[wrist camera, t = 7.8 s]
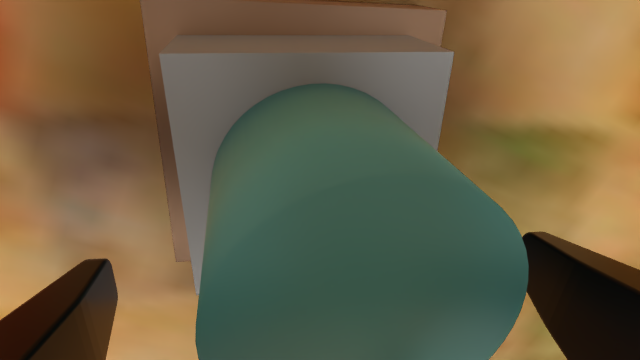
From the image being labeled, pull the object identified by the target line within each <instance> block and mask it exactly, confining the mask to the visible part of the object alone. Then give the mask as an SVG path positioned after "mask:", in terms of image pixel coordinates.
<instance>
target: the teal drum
mask: <svg viewBox="0 0 640 360" xmlns="http://www.w3.org/2000/svg"><path fill="white" fill-rule="evenodd" d="M528 268H529V265H528V258H527V252H526V248H525V245H524V242H523V239H522V236H521V234H520V232H519V230H518V229H517V227H516V225H515V224H514V222H513V220H512V219H511V218H510V217H509V216H508V215H507V213H506V212H505V211H504V210H503V209H502V208H501V207H500V206H499V205H498V204H497V203H496V202H494V201H493V200H492V199H491V198H490V197H489V196H488V195H486V194H485V193H484V192H483V191H482V190H481V189H480V188H478V187H477V186H476V185H475V184H474V183H473V182H472V181H471V180H469V179H468V178H467V177H466V176H465V175H464V174H463V173H461V172H460V171H459V170H458V169H457V168H456V167H455V166H453V165H452V164H451V163H450V162H449V161H448V160H447V159H445V158H444V157H443V156H442V155H441V154H440V153H439V152H438V151H436V150H435V149H434V148H433V147H432V146H431V145H430V144H428V143H427V142H426V141H425V140H424V139H423V138H422V137H420V136H419V135H418V134H417V133H416V132H415V131H414V130H412V129H411V128H410V127H409V126H408V125H407V124H406V123H405V122H403V121H402V120H401V119H400V118H399V117H398V116H397V115H395V114H394V113H393V112H392V111H391V110H390V109H389V108H387V107H386V106H385V105H384V104H382V103H381V102H380V101H379V100H377V99H375V98H374V97H372V96H370V95H369V94H367V93H364V92H362V91H359V90H357V89H354V88H351V87H347V86H343V85H336V84H326V83H324V84H307V85H301V86H296V87H292V88H289V89H286V90H282V91H280V92H278V93H275V94H273V95H271V96H269V97H267V98H265V99H263V100H262V101H260V102H259V103H257V104H255V105H254V106H253V107H252V108H250V109H249V110H248V111H247V112H245V113H244V114H243V115H242V116H241V117H240V118H239V119H238V120H237V121H236V123H235V124H234V125H233V126H232V127H231V129H230V130H229V132H228V133H227V134H226V136H225V137H224V139H223V141H222V143H221V145H220V147H219V149H218V152H217V155H216V158H215V161H214V166H213V171H212V178H211V187H210V197H209V206H208V216H207V225H206V234H205V244H204V253H203V262H202V272H201V281H200V291H199V300H198V309H197V319H196V347H197V353H198V358H199V360H489V358H490V357H491V356H492V355H493V354H494V353H495V352H496V350H497V349H498V348H499V347H500V345H501V344H502V343H503V342H504V340H505V339H506V337H507V335H508V334H509V332H510V331H511V329H512V328H513V326H514V324H515V322H516V319H517V317H518V315H519V313H520V311H521V308H522V305H523V302H524V299H525V295H526V290H527V285H528Z"/></svg>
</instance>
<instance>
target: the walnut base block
mask: <svg viewBox="0 0 640 360" xmlns="http://www.w3.org/2000/svg"><path fill="white" fill-rule="evenodd" d="M140 4H141V11H142V18H143V26H144V33H145V40H146V47H147V55H148V62H149V69H150V76H151V84H152V91H153V98H154V106H155V113H156V120H157V127H158V135H159V142H160V149H161V156H162V164H163V171H164V178H165V185H166V193H167V200H168V207H169V214H170V222H171V229H172V236H173V244H174V251H175V258H176V262H182V261H191V257H190V251H189V244H188V238H187V231H186V225H185V218H184V212H183V205H182V199H181V193H180V186H179V180H178V173H177V167H176V160H175V154H174V147H173V141H172V134H171V128H170V121H169V115H168V109H167V102H166V96H165V89H164V83H163V76H162V70H161V63H160V57H159V53H160V52H161V51H162V50H163V49H164V48H165V47H166V46H167V45H168V44H169V43H170V42H171V41H172V40H173V39H174V38H175V37H176V36H177V35H409V36H412V37H415V38H418V39H420V40H423V41H426V42H429V43H431V44H434V45H437V46H440V47H441V41H442V36H443V30H444V25H445V19H446V14H447V10H441V9H435V8H430V7H424V6H418V5H401V4H381V3H361V2H340V1H320V0H140Z"/></svg>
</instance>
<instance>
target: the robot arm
mask: <svg viewBox="0 0 640 360" xmlns="http://www.w3.org/2000/svg"><path fill="white" fill-rule="evenodd" d="M522 239H523V242H524V245H525V248H526V252H527V258H528V265H529V268H528V285H527V290H526V291H527V293H528V295H529V297H530V299H531V300H532V302H533V304H534V306H535V308H536V310H537V312H538V313H539V315H540V317H541V319H542V321H543V322H544V324H545V326H546V328H547V329H548V331H549V332H550V334H551V336H552V337H553V339H554V340H555V342H556V343H557V345H558V346H559V348H560V349H561V351H562V352H563V354H564V355H565V357H566V358H567V360H640V270H638V269H636V268H633V267H631V266H628V265H626V264H623V263H621V262H618V261H616V260H613V259H611V258H608V257H606V256H603V255H601V254H598V253H596V252H593V251H591V250H588V249H586V248H583V247H581V246H578V245H576V244H573V243H571V242H568V241H566V240H563V239H561V238H558V237H556V236H553V235H551V234H548V233H546V232H528V233H526V234H525V235H524V236H523V237H522ZM117 300H118V293H117V287H116V283H115V278H114V274H113V269H112V265H111V263H110V261H109V260H108V259H105V258H104V259H88V260H84V261H83V262H81V263H80V264H78V265H77V266H75V267H74V268H73V269H71V270H70V271H68V272H67V273H66V274H64V275H63V276H61V277H60V278H59V279H57V280H56V281H54V282H53V283H52V284H50V285H49V286H47V287H46V288H45V289H43V290H42V291H40V292H39V293H38V294H36V295H35V296H33V297H32V298H31V299H29V300H28V301H26V302H25V303H24V304H22V305H21V306H19V307H18V308H17V309H15V310H14V311H12V312H11V313H10V314H8V315H7V316H5V317H4V318H3V319H1V320H0V360H106V355H107V350H108V345H109V340H110V335H111V331H112V326H113V321H114V316H115V311H116V306H117Z"/></svg>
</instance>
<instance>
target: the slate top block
mask: <svg viewBox="0 0 640 360" xmlns="http://www.w3.org/2000/svg"><path fill="white" fill-rule="evenodd" d="M159 57H160V63H161V70H162V76H163V83H164V89H165V96H166V102H167V109H168V115H169V121H170V128H171V134H172V141H173V147H174V154H175V160H176V167H177V173H178V180H179V186H180V193H181V199H182V205H183V212H184V218H185V225H186V231H187V238H188V244H189V251H190V257H191V264H192V270H193V276H194V283H195V289H196V295H199V291H200V281H201V272H202V262H203V253H204V244H205V234H206V225H207V216H208V206H209V197H210V187H211V178H212V171H213V166H214V161H215V158H216V155H217V152H218V149H219V147H220V145H221V143H222V141H223V139H224V137H225V136H226V134H227V133H228V132H229V130H230V129H231V127H232V126H233V125H234V124H235V123H236V121H237V120H238V119H239V118H240V117H241V116H242V115H243V114H244V113H245V112H247V111H248V110H249V109H250V108H252V107H253V106H254V105H255V104H257V103H259V102H260V101H262V100H263V99H265V98H267V97H269V96H271V95H273V94H275V93H278V92H280V91H282V90H286V89H289V88H292V87H296V86H301V85H307V84H324V83H326V84H336V85H343V86H347V87H351V88H354V89H357V90H359V91H362V92H364V93H367V94H369V95H370V96H372V97H374V98H375V99H377V100H379V101H380V102H381V103H382V104H384V105H385V106H386V107H387V108H389V109H390V110H391V111H392V112H393V113H394V114H395V115H397V116H398V117H399V118H400V119H401V120H402V121H403V122H405V123H406V124H407V125H408V126H409V127H410V128H411V129H412V130H414V131H415V132H416V133H417V134H418V135H419V136H420V137H422V138H423V139H424V140H425V141H426V142H427V143H428V144H430V145H431V146H432V147H433V148H434V149H435V150H436V151H437V150H438V144H439V138H440V132H441V126H442V121H443V115H444V109H445V103H446V97H447V92H448V86H449V80H450V74H451V68H452V63H453V57H454V52H453V51H451V50H448V49H445V48H442V47H440V46H437V45H434V44H431V43H429V42H426V41H423V40H420V39H418V38H415V37H412V36H409V35H177V36H176V37H175V38H174V39H173V40H172V41H171V42H170V43H169V44H168V45H167V46H166V47H165V48H164V49H163V50H162V51H161V52H160V53H159Z"/></svg>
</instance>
